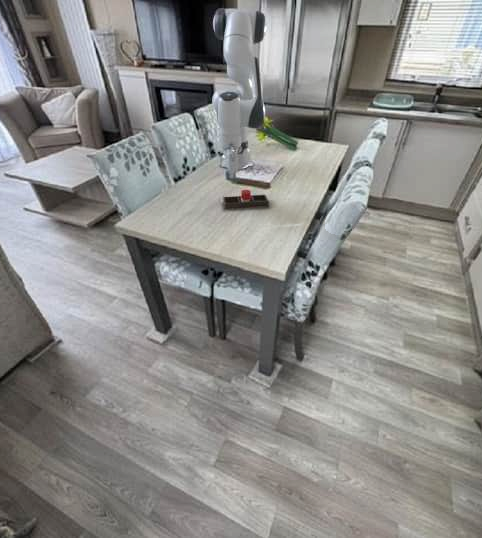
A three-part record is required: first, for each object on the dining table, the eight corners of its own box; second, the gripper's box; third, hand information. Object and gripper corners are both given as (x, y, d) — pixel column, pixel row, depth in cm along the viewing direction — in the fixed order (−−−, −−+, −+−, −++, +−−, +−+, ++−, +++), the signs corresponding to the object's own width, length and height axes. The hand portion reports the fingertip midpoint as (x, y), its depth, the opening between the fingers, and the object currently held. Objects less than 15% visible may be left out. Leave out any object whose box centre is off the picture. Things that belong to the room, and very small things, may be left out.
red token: (240, 196, 134) (240, 189, 133) (249, 195, 135) (249, 189, 133) (242, 200, 131) (242, 193, 129) (251, 199, 132) (251, 193, 130)
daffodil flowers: (288, 154, 193) (244, 131, 200) (292, 160, 207) (250, 138, 214) (302, 129, 189) (256, 107, 196) (305, 137, 203) (262, 115, 210)
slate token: (225, 177, 128) (225, 170, 126) (235, 176, 129) (234, 169, 127) (226, 181, 125) (226, 173, 123) (236, 180, 125) (236, 173, 123)
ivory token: (240, 202, 136) (240, 196, 135) (249, 201, 137) (249, 195, 135) (241, 206, 133) (241, 200, 131) (250, 205, 134) (251, 199, 132)
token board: (223, 203, 137) (223, 196, 135) (265, 200, 140) (265, 194, 138) (224, 210, 132) (224, 203, 130) (268, 207, 134) (268, 201, 132)
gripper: (241, 148, 109) (241, 184, 118) (234, 133, 125) (235, 166, 134) (224, 149, 109) (225, 185, 117) (219, 134, 124) (221, 166, 133)
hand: (230, 175), depth 126 cm, fingers closed on slate token, 4 cm apart
